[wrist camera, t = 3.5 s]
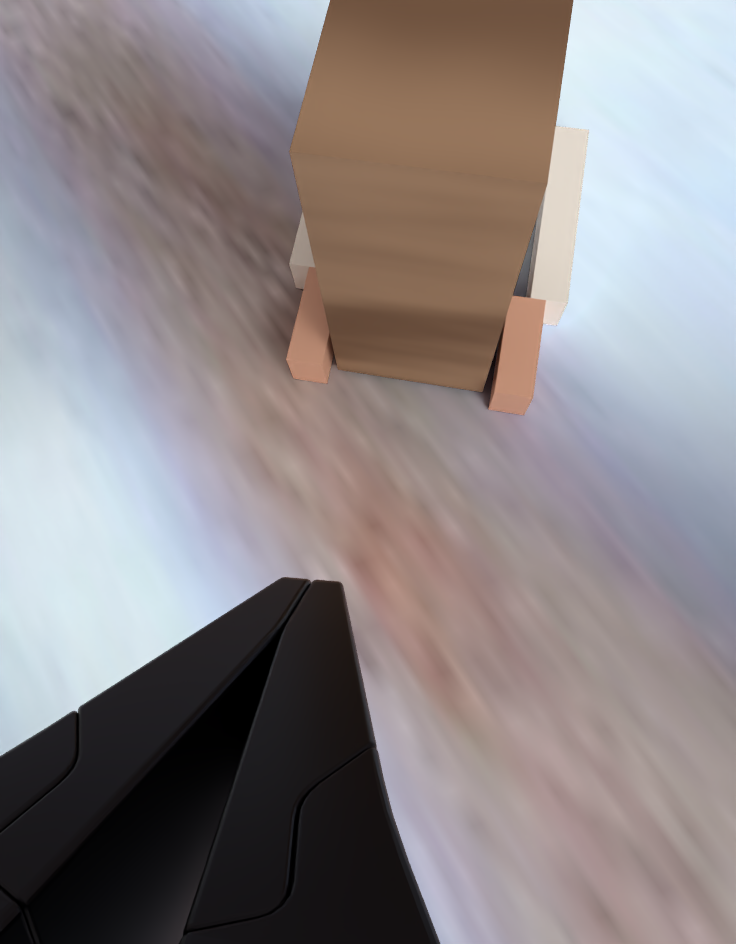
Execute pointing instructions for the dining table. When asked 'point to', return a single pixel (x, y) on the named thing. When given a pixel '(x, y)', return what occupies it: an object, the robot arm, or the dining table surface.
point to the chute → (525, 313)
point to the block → (426, 175)
